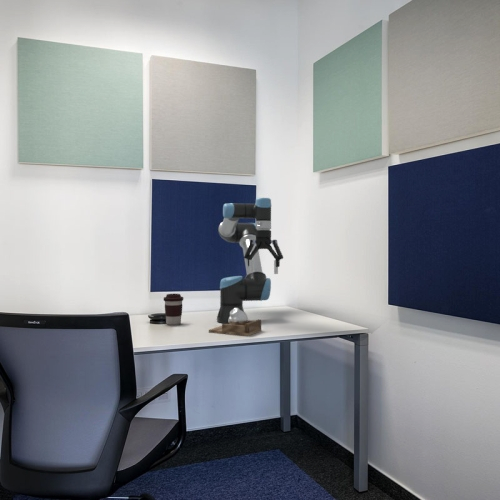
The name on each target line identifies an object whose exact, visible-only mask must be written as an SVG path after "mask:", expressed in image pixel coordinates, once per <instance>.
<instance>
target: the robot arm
mask: <svg viewBox="0 0 500 500" xmlns="http://www.w3.org/2000/svg"><path fill="white" fill-rule="evenodd" d="M222 216H223V219H222V220H223V221H222V222H220V224H219V225H218V230H217V231H218V235H219V236H220V237H221V239H223V240H224V241H226V242H227V243H234V244H235V243H237V244H239V246H240V247H241V248H242V252H243V259H244V265H245V270H246V276H245V278H243V277H244V276H242V275H235V276H229V277H223V278H222V279H220V283H219V289H220V291H219V292H220V293H219V297H220V298H219V299H220V300H219V301H220V302H219V303H220V305H219V306H220V307H219V309H218V313H217V316H216V322H217V323H220V324H230V323H229V322H228V319H229V316H230V311H231V310H233V309H234V308H239V309H240V310H242V311H244V312H245V310H244V306H243V302H248V301H249V302H250V301H251V302H252V301H254V302H255V301H256V302H257V301H260V302H262V301H267V300H269V299H270V296H271V289H272V286H271V285H272V280H271V278H270V277H267V276H266V273H264V272H263V268H262V262H261V257H260V251H259V250H268V252H269V253H270V254H271V256H272V257H273V258H274V260H273V275H278V274H279V267H280V261H281V260H283V259H284V255H283V253H282V251H281V249H280V246H279V244H278V240H277V239H273V240H272V230H271V229H272V199H271V198H269V197H257V198H256V199H255V203H239V202H238V203H237V202H236V203H232V202H230V203H224V204H223V206H222ZM240 219H255V222H239V220H240ZM272 246H273V247H272Z"/></svg>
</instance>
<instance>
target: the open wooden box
mask: <svg viewBox="0 0 500 500" xmlns="http://www.w3.org/2000/svg"><path fill="white" fill-rule="evenodd" d="M260 332H262V319H256V320H248V323H247V324H245V326H243V325H231V324H229V323H221V325H219V326H217V327H214V328H210V329H208V333H211V334H219V335H220V334H222V335H230V336H231V335H233V336H234V335H235V336H243V337H244V336H245V337H249V336H252V335H254V334H256V333H260Z"/></svg>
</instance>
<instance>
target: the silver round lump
mask: <svg viewBox="0 0 500 500" xmlns="http://www.w3.org/2000/svg"><path fill="white" fill-rule="evenodd" d="M248 321H249V316H248V314H247V313H246V312H245V310H244V311H242V310H240V309H239V308H234V309H233V310H231V311H230V316H229V319H228V322H229V323H230V324H231V325H243V326H245V324H247V323H248ZM229 323H228V324H229Z"/></svg>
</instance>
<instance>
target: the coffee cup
mask: <svg viewBox="0 0 500 500" xmlns="http://www.w3.org/2000/svg"><path fill="white" fill-rule="evenodd" d="M181 295H182V294H180V293H168V294H166V295H165V296H164V297H163V301H164V315H165V322H166V324H167V325H169V326H170V325H171V326H176V325H177V326H178V325H180V324H181V323H182V316H183V301H184V297H183V296H181Z"/></svg>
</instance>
